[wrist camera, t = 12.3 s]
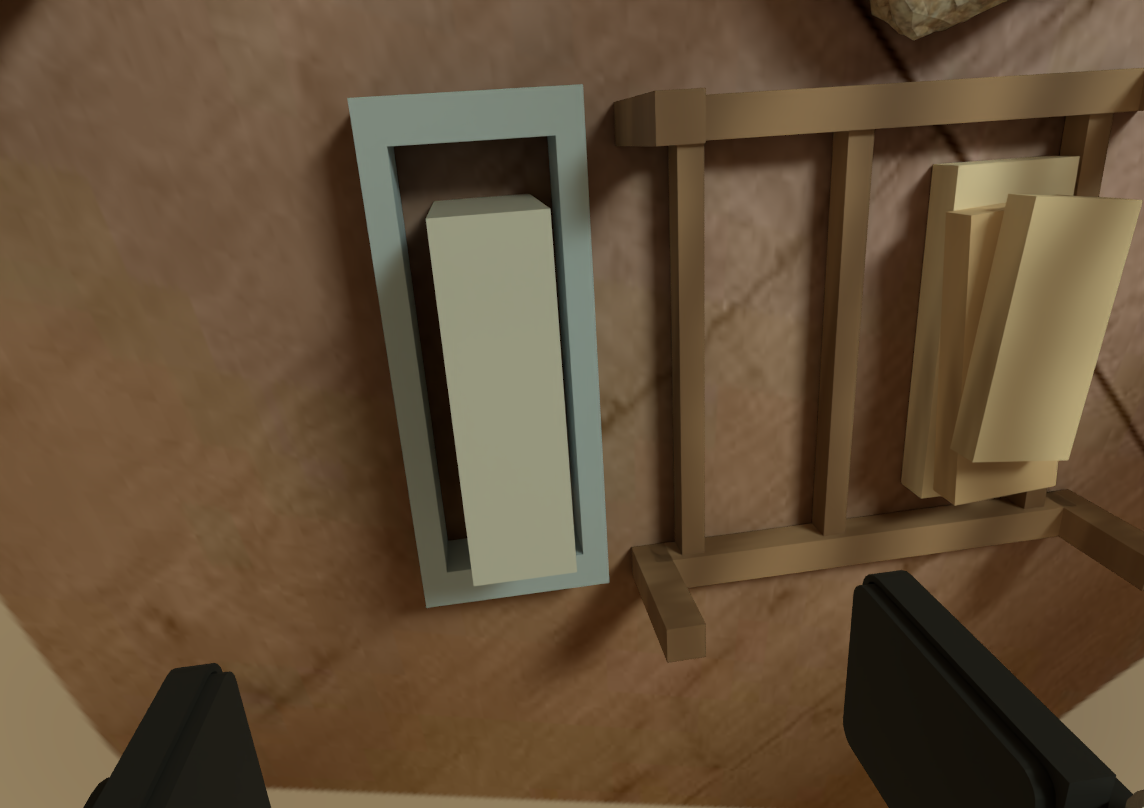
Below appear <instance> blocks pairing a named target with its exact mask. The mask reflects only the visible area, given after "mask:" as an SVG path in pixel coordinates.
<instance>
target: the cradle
mask: <svg viewBox="0 0 1144 808" xmlns="http://www.w3.org/2000/svg"><path fill="white" fill-rule="evenodd" d="M347 99H348V105H349V111H350V118H351V124H352V131H353V137H354V144H355V150H356V157H357V163H358V170H359V176H360V182H361V189H362V195H363V202H364V208H365V215H366V221H367V228H368V234H369V241H370V247H371V253H372V260H373V266H374V273H375V279H376V286H377V292H378V299H379V305H380V312H381V318H382V324H383V331H384V337H385V344H386V350H387V357H388V363H389V370H390V376H391V383H392V389H393V395H394V402H395V408H396V415H397V421H398V428H399V434H400V441H401V447H402V453H403V460H404V466H405V473H406V479H407V486H408V492H409V499H410V505H411V512H412V518H413V524H414V531H415V537H416V544H417V550H418V557H419V563H420V570H421V576H422V583H423V589H424V595H425V602H426V608H429V607H437V606H444V605H451V604H458V603H466V602H473V601H480V600H488V599H495V598H502V597H509V596H517V595H524V594H531V593H538V592H546V591H553V590H560V589H568V588H575V587H582V586H589V585H597V584H604V583H609V567H608V549H607V530H606V511H605V492H604V473H603V454H602V435H601V416H600V397H599V378H598V360H597V341H596V322H595V303H594V284H593V265H592V246H591V227H590V208H589V189H588V170H587V152H586V133H585V114H584V95H583V84H580V85H562V86H545V87H528V88H511V89H494V90H477V91H460V92H443V93H426V94H409V95H392V96H375V97H358V98H347ZM542 136H547V138H548V153H549V167H550V181H551V196H552V210H553V224H554V239H555V253H556V267H557V282H558V296H559V310H560V325H561V339H562V354H563V368H564V382H565V397H566V411H567V425H568V440H569V454H570V468H571V483H572V497H573V511H574V537H575V551H576V564H577V572H575V573H568V574H560V575H553V576H546V577H538V578H531V579H524V580H517V581H509V582H502V583H495V584H488V585H480V586H474V584H473V577H472V569H471V562H470V554H469V546H468V539H467V538H466V539H458V540H450V541H448V538H447V531H446V524H445V516H444V509H443V502H442V495H441V487H440V480H439V473H438V466H437V458H436V451H435V444H434V437H433V429H432V422H431V415H430V408H429V400H428V393H427V386H426V379H425V371H424V364H423V357H422V350H421V342H420V335H419V328H418V321H417V313H416V306H415V299H414V292H413V284H412V277H411V270H410V263H409V255H408V248H407V241H406V234H405V226H404V219H403V212H402V205H401V197H400V190H399V183H398V176H397V168H396V161H395V154H394V147H393V146H406V145H421V144H436V143H451V142H466V141H481V140H496V139H511V138H527V137H542Z"/></svg>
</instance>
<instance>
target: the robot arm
mask: <svg viewBox="0 0 1144 808" xmlns="http://www.w3.org/2000/svg"><path fill="white" fill-rule="evenodd" d="M843 726H844V731H845V735H846V738H847V741H848V743H849V745H850V747H851V749H852V750H853V752H854V753H855V755H856V756H857V758H858V760H859V761H860V763H861V764H862V766H863V767H864V769H865V771H866V772H867V774H868V775H869V777H870V779H871V780H872V782H873V783H874V785H875V786H876V788H877V790H878V791H879V793H880V794H881V796H882V798H883V799H884V801H885V802H886V804H887V805H888V807H889V808H1144V790H1140V791H1137V792H1135V793H1134V794H1132V793H1131V792H1130V791H1129V790H1128V789H1127V788H1126V787H1125V786H1124V785H1123V784H1122V783H1121V782H1120V781H1119V780H1118V779H1117V778H1116V774H1114V773H1113V772H1112V771H1111V770H1110V769H1109V768H1108V767H1107V766H1106V765H1105V764H1104V763H1103V762H1102V761H1101V760H1100V759H1099V758H1098V757H1097V756H1096V755H1095V754H1094V753H1093V752H1092V751H1091V750H1090V749H1089V748H1088V747H1087V746H1086V745H1085V744H1084V743H1083V742H1082V741H1081V740H1080V739H1079V738H1078V737H1077V736H1076V735H1075V734H1073V732H1071V731H1070V730H1069V729H1068V728H1067V727H1066V726H1065V725H1064V724H1063V723H1062V722H1061V721H1060V720H1059V719H1058V718H1057V717H1056V716H1055V715H1054V714H1053V713H1052V712H1051V711H1050V710H1049V709H1048V708H1047V707H1046V706H1045V705H1044V704H1043V703H1042V702H1041V701H1040V700H1039V699H1038V698H1037V697H1036V696H1035V695H1034V694H1033V693H1032V692H1031V691H1030V690H1028V689H1027V688H1026V687H1025V686H1024V685H1023V684H1022V683H1021V682H1020V681H1019V680H1018V679H1017V678H1016V677H1015V676H1014V675H1013V674H1012V673H1011V672H1010V671H1009V670H1008V669H1007V668H1006V667H1005V666H1004V665H1003V664H1002V663H1001V662H1000V661H999V660H998V659H997V658H996V657H995V656H994V655H993V654H992V653H991V652H990V651H989V650H988V649H987V648H985V647H984V646H983V645H982V644H981V643H980V642H979V641H978V640H977V639H976V638H975V637H974V636H973V635H972V634H971V633H970V632H969V631H968V630H967V629H966V628H965V627H964V626H963V625H962V624H961V623H960V622H959V621H958V620H957V619H956V618H955V617H954V616H953V615H952V614H951V613H950V612H949V611H948V610H947V609H946V608H945V607H944V606H942V605H941V604H940V603H939V602H938V601H937V600H936V599H935V598H934V597H933V596H932V595H931V594H930V593H929V592H928V591H927V590H926V589H925V588H924V587H923V586H922V585H921V584H920V583H919V582H918V581H917V580H916V579H915V578H914V577H913V576H912V575H911V574H909V573H908V572H907V571H903V570H899V571H892V572H884V573H877V574H869V575H867V576H866V577H865V579H864V580H863V585H859V586H857V587H856V588H855V590H854V595H853V607H852V619H851V631H850V643H849V655H848V667H847V679H846V691H845V703H844V715H843ZM84 808H271V806H270V802H269V798H268V795H267V791H266V787H265V784H264V780H263V776H262V773H261V769H260V765H259V762H258V758H257V754H256V751H255V747H254V743H253V740H252V736H251V732H250V729H249V725H248V721H247V718H246V714H245V710H244V707H243V703H242V699H241V696H240V692H239V688H238V685H237V681H236V678H235V676H234V674H233V673H232V672H222V669H221V667H220V666H219V665H218V664H216V663H211V664H203V665H196V666H189V667H181V668H175V669H173V670H171V671H170V672H169V674H168V675H167V677H166V678H165V680H164V682H163V684H162V685H161V687H160V689H159V691H158V693H157V694H156V696H155V698H154V700H153V701H152V703H151V705H150V707H149V709H148V710H147V712H146V714H145V716H144V717H143V719H142V721H141V723H140V725H139V726H138V728H137V730H136V732H135V733H134V735H133V737H132V739H131V740H130V742H129V744H128V746H127V748H126V749H125V751H124V753H123V755H122V756H121V758H120V760H119V762H118V764H117V765H116V767H115V769H114V771H113V772H112V774H111V776H110V778H106V779H105V780H103V781H102V782H101V783H99V784H98V786H97V787H96V788H95V790H94V791H93V792H92V794H91V795H90V797H89V799H88V801H87V802H86V804H85V806H84Z"/></svg>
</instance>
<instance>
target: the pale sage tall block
mask: <svg viewBox="0 0 1144 808" xmlns="http://www.w3.org/2000/svg"><path fill="white" fill-rule="evenodd" d="M426 225H427V233H428V240H429V248H430V256H431V263H432V271H433V278H434V286H435V294H436V301H437V309H438V317H439V324H440V332H441V340H442V347H443V355H444V363H445V370H446V378H447V386H448V393H449V401H450V409H451V416H452V424H453V431H454V439H455V447H456V454H457V462H458V470H459V477H460V485H461V493H462V500H463V508H464V516H465V523H466V531H467V539H468V546H469V554H470V562H471V569H472V577H473V584H474V586H480V585H488V584H495V583H502V582H509V581H517V580H524V579H531V578H538V577H546V576H553V575H560V574H568V573H575V572H577V564H576V551H575V537H574V523H573V510H572V496H571V483H570V469H569V455H568V442H567V428H566V415H565V401H564V387H563V374H562V360H561V347H560V333H559V319H558V306H557V292H556V279H555V265H554V251H553V238H552V224H551V211H550V208H549V207H547V206H546V205H544V204H543V203H542V202H540V201H539V200H537V199H536V198H535V197H533V196H532V195H530V194H518V195H505V196H492V197H479V198H467V199H454V200H441V201H434V202H433V204H432V206H431V208H430V211H429V213H428V215H427V217H426Z"/></svg>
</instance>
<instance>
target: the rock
mask: <svg viewBox="0 0 1144 808" xmlns="http://www.w3.org/2000/svg"><path fill="white" fill-rule="evenodd" d="M1006 1H1008V0H870V7H871V14H872V15H873V16H875V17H878V18H880V19H882V20H884V21H886V22H887V23H888V24H889V25H890V26H891V27H892V28H894V29H895V30H896V31H897V32H898V33H899V34H901V35H906V36H907V37H909V38H910V39H912V40H913V41H914V40H917V39H919V38H921V37H924V36H926V35H929V34H931V33H932V32H935V31H944V30H946V29H948V28H950V27H952V26H954V25H956V24H958V23H960V22H966V21H967V20H969V19H970V18H971V17H973V16H975V15H977V14H979V13H981V12H984V11H986V10H988V9H990V8H992V7H994V6H996V5H998V4H1000V3H1003V2H1006Z"/></svg>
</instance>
